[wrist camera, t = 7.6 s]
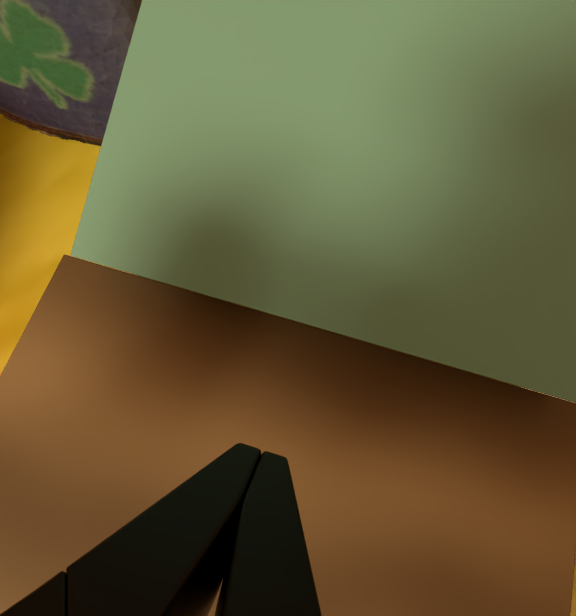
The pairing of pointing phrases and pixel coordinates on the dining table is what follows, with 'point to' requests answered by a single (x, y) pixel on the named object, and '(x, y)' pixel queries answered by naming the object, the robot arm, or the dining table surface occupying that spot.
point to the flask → (63, 63)
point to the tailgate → (356, 172)
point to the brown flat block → (283, 448)
